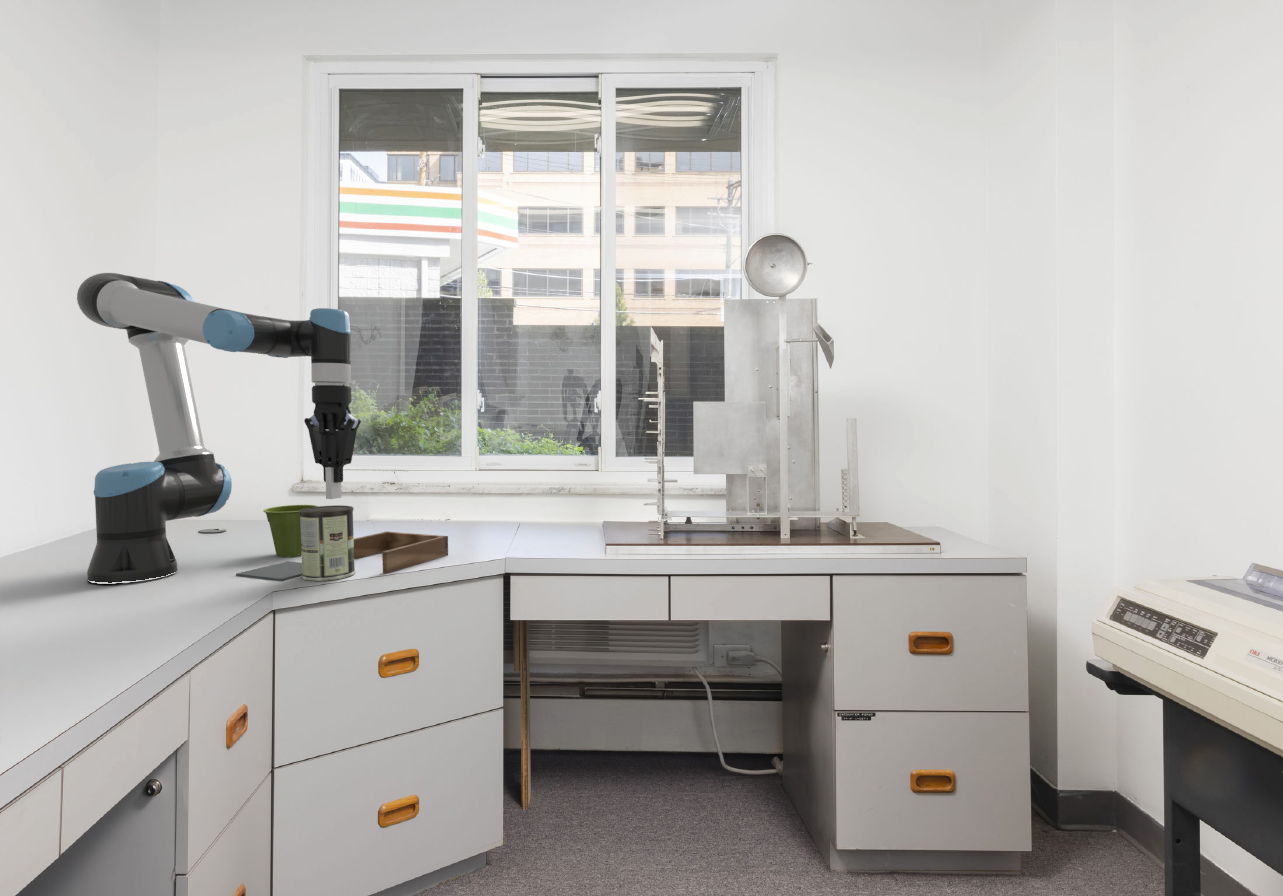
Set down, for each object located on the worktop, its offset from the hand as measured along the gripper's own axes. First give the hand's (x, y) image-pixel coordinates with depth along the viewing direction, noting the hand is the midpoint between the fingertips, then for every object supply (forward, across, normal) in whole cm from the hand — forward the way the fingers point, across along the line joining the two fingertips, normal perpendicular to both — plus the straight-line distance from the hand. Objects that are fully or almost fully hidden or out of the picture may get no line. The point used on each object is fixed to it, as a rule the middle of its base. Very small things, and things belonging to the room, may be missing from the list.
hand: (333, 498), depth 147 cm
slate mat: (+16, +12, +2) cm, 20 cm away
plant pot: (+17, +25, -13) cm, 33 cm away
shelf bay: (+16, -1, -15) cm, 22 cm away
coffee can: (+16, +1, +1) cm, 16 cm away
